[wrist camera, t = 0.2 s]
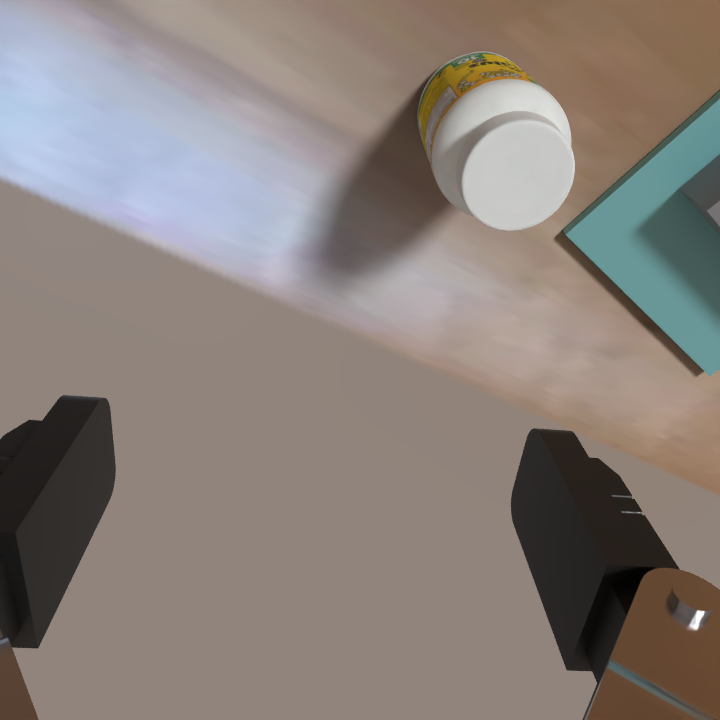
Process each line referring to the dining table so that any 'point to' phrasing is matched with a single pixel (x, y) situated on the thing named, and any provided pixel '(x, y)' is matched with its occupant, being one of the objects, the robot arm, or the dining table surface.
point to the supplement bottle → (496, 141)
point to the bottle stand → (667, 235)
